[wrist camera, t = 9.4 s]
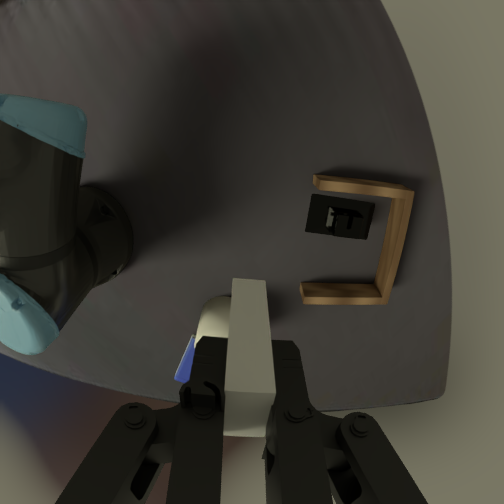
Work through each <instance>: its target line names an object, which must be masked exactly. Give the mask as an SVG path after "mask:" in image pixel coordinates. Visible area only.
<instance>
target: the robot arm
mask: <svg viewBox="0 0 504 504" xmlns="http://www.w3.org/2000/svg"><path fill="white" fill-rule="evenodd" d="M86 130H87V118H86V115H85V113H84V112H83V111H82V109H80V108H79V107H77V106H73V105H69V104H64V103H60V102H54V101H49V100H43V99H37V98H32V97H25V96H18V95H11V94H2V93H0V341H1V342H2V343H3V344H5V345H6V346H8V347H9V348H11V349H13V350H15V351H17V352H19V353H23V354H27V355H35V354H38V353H41V352H43V351H44V350H45V349H46V348H47V347H48V346H49V345H50V344H51V343H52V342H53V341H54V339H56V338H57V337H58V335H59V332H60V330H61V329H62V328H63V326H64V325H65V323H66V322H67V321H68V319H69V318H70V317H71V315H72V314H73V313H74V311H75V310H76V309H77V307H78V306H79V305H80V303H81V302H82V301H83V299H84V298H85V297H86V296H87V294H88V293H89V292H90V290H91V289H92V288H95V287H97V286H99V285H101V284H104V283H106V282H108V281H110V280H112V279H113V278H115V277H116V276H117V275H118V274H119V273H120V272H121V271H122V269H123V268H124V267H125V266H126V264H127V263H128V261H129V259H130V256H131V253H132V249H133V234H132V228H131V225H130V222H129V219H128V217H127V215H126V213H125V212H124V210H123V209H122V207H121V206H120V205H119V203H118V202H117V201H116V200H115V199H114V198H113V197H111V196H110V195H109V194H107V193H106V192H104V191H102V190H100V189H97V188H93V187H80V179H81V171H82V164H83V158H85V152H84V146H85V137H86ZM179 395H180V403H179V404H178V405H176V406H174V407H172V408H167V409H160V410H152V409H151V408H150V407H148V406H147V405H145V404H142V403H137V402H135V403H128V404H125V405H123V406H121V407H120V408H119V409H118V410H117V411H116V413H115V414H114V416H113V417H112V418H111V420H110V421H109V423H108V424H107V426H106V427H105V429H104V430H103V432H102V433H101V435H100V436H99V438H98V439H97V441H96V442H95V443H94V445H93V447H92V448H91V449H90V451H89V452H88V454H87V456H86V457H85V458H84V460H83V461H82V463H81V464H80V466H79V467H78V469H77V471H76V472H75V474H74V475H73V477H72V478H71V480H70V481H69V483H68V484H67V486H66V487H65V489H64V490H63V492H62V493H61V495H60V496H59V498H58V500H57V501H56V503H55V504H145V502H146V500H147V498H148V496H149V494H150V492H151V490H152V488H153V486H154V484H155V482H156V480H157V478H158V476H159V474H160V472H161V470H162V468H163V466H164V464H165V463H169V462H172V465H171V471H170V478H169V485H168V491H167V499H166V504H220V494H221V471H222V451H223V435H228V436H247V437H264V436H265V433H266V445H265V448H264V451H263V455H262V459H265V479H266V502H267V504H333V500H332V495H333V498H334V500H335V502H336V504H428V503H427V501H426V499H425V498H424V496H423V495H422V493H421V492H420V490H419V488H418V487H417V485H416V484H415V482H414V480H413V478H412V477H411V475H410V474H409V472H408V470H407V469H406V467H405V466H404V464H403V462H402V461H401V459H400V458H399V456H398V455H397V453H396V451H395V450H394V448H393V447H392V445H391V443H390V442H389V440H388V439H387V437H386V435H385V434H384V432H383V431H382V429H381V428H380V426H379V425H378V423H377V422H376V421H375V419H374V418H373V417H372V416H369V415H368V414H366V413H361V412H354V413H350V414H348V415H346V416H345V417H344V418H343V419H342V418H337V417H333V416H328V415H325V414H322V413H321V412H319V411H317V410H316V409H315V408H314V407H313V406H312V404H311V403H310V401H309V398H308V392H307V387H306V382H305V377H304V371H303V366H302V362H301V356H300V351H299V349H298V347H297V346H296V345H295V343H294V342H293V341H286V340H271V334H270V324H269V313H268V303H267V293H266V283H265V281H263V280H250V279H238V278H233V284H232V296H231V308H230V321H229V334H228V338H224V337H212V336H202V337H201V339H200V340H199V341H198V342H197V343H196V346H195V351H194V356H193V362H192V367H191V372H190V378H189V381H187V382H186V383H185V384H183V385H182V387H181V389H180V391H179ZM331 493H332V494H331Z"/></svg>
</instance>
